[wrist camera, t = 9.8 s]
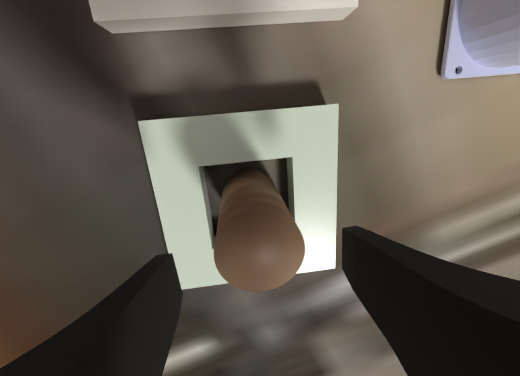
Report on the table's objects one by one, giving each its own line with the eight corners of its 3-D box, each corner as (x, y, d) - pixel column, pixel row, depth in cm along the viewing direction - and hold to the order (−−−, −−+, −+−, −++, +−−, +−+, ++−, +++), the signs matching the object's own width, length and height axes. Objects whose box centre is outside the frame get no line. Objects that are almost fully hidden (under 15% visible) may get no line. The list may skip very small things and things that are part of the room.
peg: (272, 164, 17) (302, 204, 10) (277, 214, 19) (307, 283, 11) (218, 172, 17) (205, 218, 10) (226, 221, 18) (221, 298, 11)
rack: (326, 104, 17) (338, 104, 15) (325, 253, 20) (335, 268, 18) (149, 120, 16) (137, 121, 14) (182, 272, 19) (177, 290, 18)
